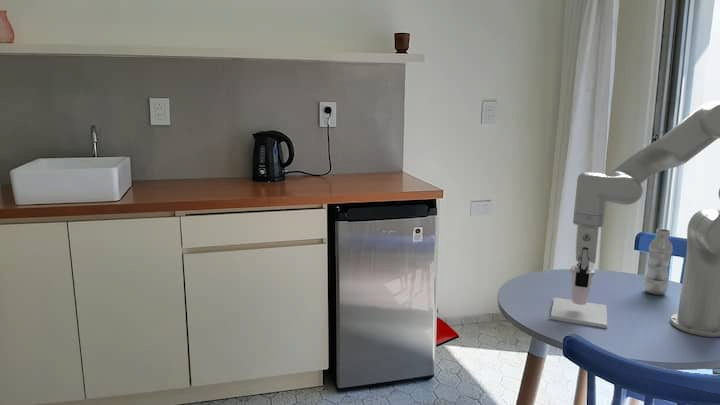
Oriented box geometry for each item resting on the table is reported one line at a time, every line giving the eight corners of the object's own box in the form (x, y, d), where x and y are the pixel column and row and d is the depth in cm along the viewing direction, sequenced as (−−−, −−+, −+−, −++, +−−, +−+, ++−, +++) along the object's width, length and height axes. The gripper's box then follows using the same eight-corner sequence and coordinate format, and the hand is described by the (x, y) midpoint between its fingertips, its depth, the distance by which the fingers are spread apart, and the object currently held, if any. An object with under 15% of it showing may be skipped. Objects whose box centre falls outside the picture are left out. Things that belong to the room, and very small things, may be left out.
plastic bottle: (669, 292, 164) (678, 230, 159) (663, 299, 159) (672, 234, 155) (646, 287, 168) (654, 226, 164) (640, 293, 163) (648, 230, 159)
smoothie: (594, 307, 144) (599, 258, 141) (568, 305, 145) (574, 256, 142) (589, 298, 150) (594, 251, 147) (565, 296, 151) (569, 249, 148)
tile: (605, 308, 152) (606, 305, 152) (606, 328, 139) (607, 324, 139) (553, 300, 157) (554, 297, 157) (550, 319, 145) (550, 315, 144)
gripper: (604, 228, 133) (596, 295, 137) (603, 213, 149) (596, 274, 153) (572, 224, 136) (565, 290, 140) (574, 210, 152) (568, 270, 155)
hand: (581, 281), depth 146 cm, fingers closed on smoothie, 6 cm apart
